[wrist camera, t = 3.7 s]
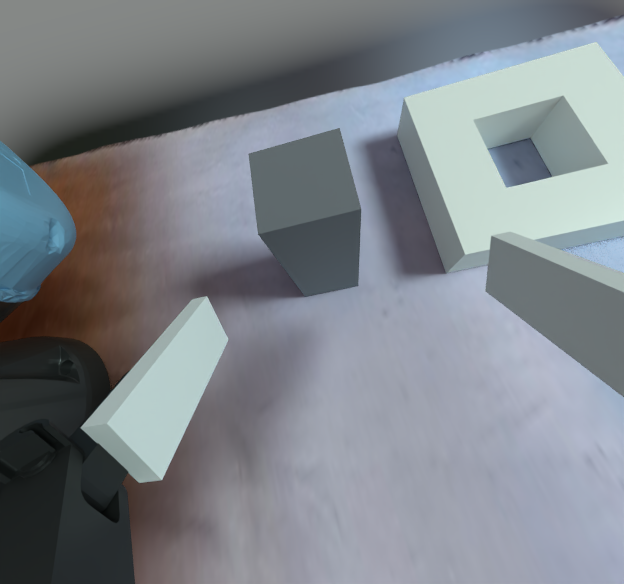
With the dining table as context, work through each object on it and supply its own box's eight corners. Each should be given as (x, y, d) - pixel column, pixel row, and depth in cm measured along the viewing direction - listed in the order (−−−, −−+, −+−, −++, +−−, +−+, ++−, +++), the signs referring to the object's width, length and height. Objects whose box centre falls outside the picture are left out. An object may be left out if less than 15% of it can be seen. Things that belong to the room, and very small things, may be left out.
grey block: (305, 296, 23) (258, 234, 12) (297, 249, 25) (248, 153, 14) (358, 285, 23) (361, 209, 11) (346, 237, 24) (339, 128, 13)
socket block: (446, 273, 22) (465, 254, 18) (397, 135, 27) (404, 97, 23) (651, 230, 20) (720, 199, 16) (559, 91, 25) (596, 41, 21)
